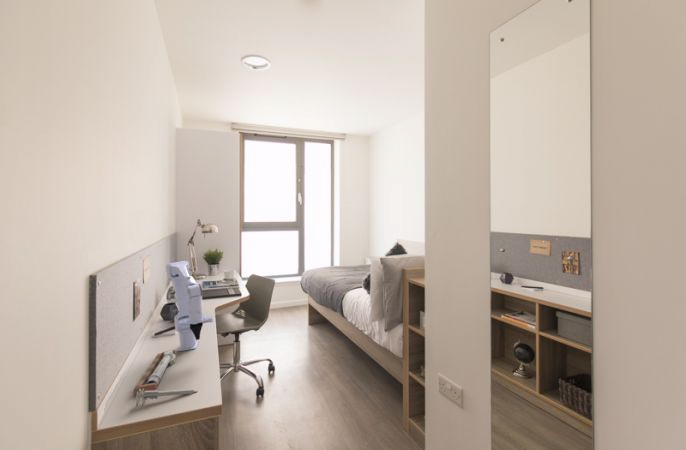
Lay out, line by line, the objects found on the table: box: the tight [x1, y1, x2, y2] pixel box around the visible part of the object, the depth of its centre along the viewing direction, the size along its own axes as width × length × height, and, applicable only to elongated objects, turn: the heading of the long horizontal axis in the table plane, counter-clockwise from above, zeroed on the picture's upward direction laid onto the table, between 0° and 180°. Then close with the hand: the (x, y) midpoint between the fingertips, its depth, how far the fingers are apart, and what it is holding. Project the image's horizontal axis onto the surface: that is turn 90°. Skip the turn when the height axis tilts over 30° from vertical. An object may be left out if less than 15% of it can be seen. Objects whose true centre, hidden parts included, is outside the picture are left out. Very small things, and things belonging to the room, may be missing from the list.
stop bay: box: [133, 349, 177, 397], centre depth 145 cm, size 32×8×3 cm, turn 14°
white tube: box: [146, 349, 177, 387], centre depth 145 cm, size 5×7×25 cm
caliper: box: [135, 388, 199, 407], centre depth 125 cm, size 20×1×6 cm, turn 112°
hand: (197, 339), depth 157 cm, fingers closed
